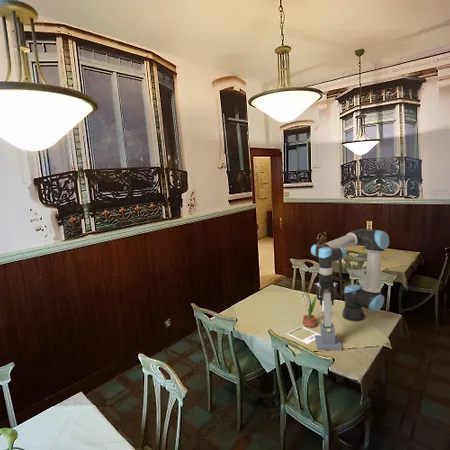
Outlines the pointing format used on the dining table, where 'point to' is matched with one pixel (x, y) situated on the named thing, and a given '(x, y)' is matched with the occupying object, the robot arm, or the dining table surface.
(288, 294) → the dining table surface
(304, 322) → the potted flower
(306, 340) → the photo frame
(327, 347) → the jack stand
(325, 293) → the post
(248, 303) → the dining table surface
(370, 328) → the dining table surface
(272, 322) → the dining table surface
